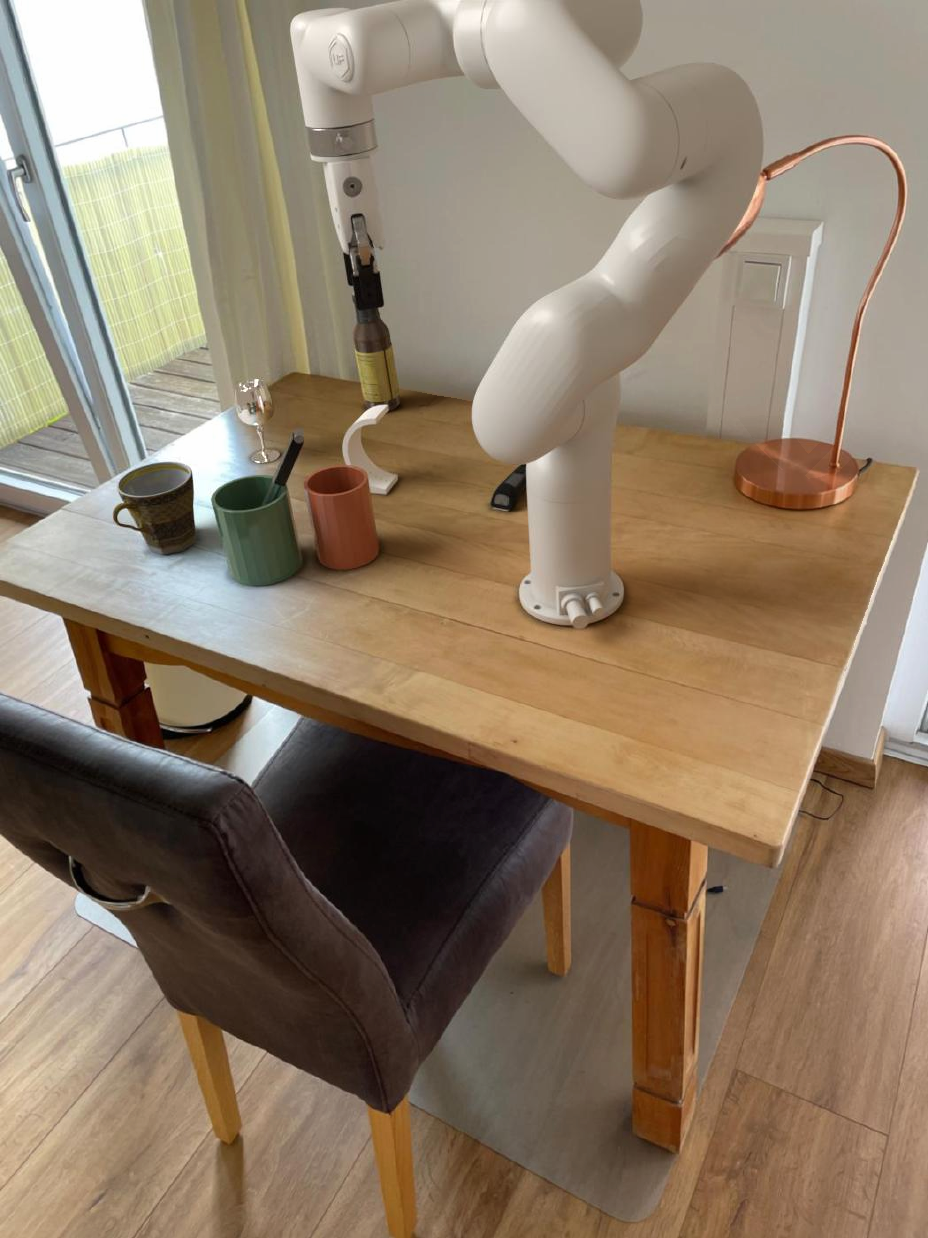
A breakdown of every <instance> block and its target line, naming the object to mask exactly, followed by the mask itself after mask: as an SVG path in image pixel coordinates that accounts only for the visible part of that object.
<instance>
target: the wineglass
mask: <svg viewBox="0 0 928 1238" xmlns="http://www.w3.org/2000/svg"><path fill="white" fill-rule="evenodd" d="M234 403H235V411H236V413H237V416H238V418H239V420H240V421H242V422H243V424H246V425H248V426H253V427H256V432H257V434H258V436H259V439H260V442H261V448H262V449H261V450H259V451H257V452H255V453H254V454H252V457H251V460H252V461H253V462H254V463H257V464H267V463H271V462H274V461H275V460H277V459H279V457H280V455H281V454H280V451H278V450H276V449H267V447H266V444H265V440H264V439H265V438H264V427H263V425H265V424H267V423H268V422H270V420H271V419H272V418H273V416H274V414H275V413H274V412H275V403H274V399H273V396H272V393H271V391H270V389H269V387H268V385H267V383H266V381H265V380H262V379H248V380H244V381H241V382H239V383H238V384H236V385H235V387H234Z"/></svg>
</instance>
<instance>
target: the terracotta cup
mask: <svg viewBox="0 0 928 1238" xmlns="http://www.w3.org/2000/svg"><path fill="white" fill-rule="evenodd" d="M303 490H304V495H305V500H306V505H307V509H308V510H307V511H308V515H309V520H310V526H311V530H312V535H313V540H314V546H315V550H316V555H317V558H318V561H319V563H320V564H321V565H322V566H323V567H326V568H328V569H331V570H337V571H339V570H341V571H344V570H346V571H347V570H352V569H353V570H354V569H358V568H361V567H363V566H365V565H367V564H370V563H371V562H372V561H374V560H375V559H376V557H377V556H378V555H379V552H380V546H379V540H378V539H379V538H378V532H377V526H376V519H375V513H374V507H373V500H372V493H370V487H369V480H368V474H367V473H366V472H365V471H364V470H363V469H361V468H359V467H357V466H351V465H346V464H338V465H331V466H326V467H323V468H320V469H317V470H316V471H314V472H312V473H310V474H309V475H308V476H307V477H305V479H304V481H303Z"/></svg>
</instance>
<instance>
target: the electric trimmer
mask: <svg viewBox="0 0 928 1238" xmlns="http://www.w3.org/2000/svg"><path fill="white" fill-rule="evenodd" d="M526 484H527V482H526V464H522V465H518V466H517V467H516V468H515V469H514V470H513V471H512V472H511V473H510V474H508V476H507V477H506V478H505V479H504V480H503V481H502V482H501V483H500V484H499V485H498V486H497V487H496V489H495V490H494V492H493V494H492V497H491V499H490V506H491V507H492V509H493V510H498V511H502V512H503V511H504V512H509V511H510V510H514V509H515V508H516V506H517V502H518V498H519V497H520V495H521V494H522V493H523V492H524V490H525V489H527V486H526Z"/></svg>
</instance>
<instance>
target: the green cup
mask: <svg viewBox="0 0 928 1238" xmlns="http://www.w3.org/2000/svg"><path fill="white" fill-rule="evenodd" d="M273 477H274V475H269V474H253V475H248V476H242V477H238V478H235V479H232V480H230V481H227V482H225V483H224V484H222V485H220V486H219V487H218V488H217V489H216V490H215V491H214V492H213V493H212V495H211V498H210V501H211V506H212V509H213V513H214V517H215V521H216V525H217V528H218V532H219V537H220V541H221V543H222V547H223V551H224V555H225V558H226V563H227V567H228V570H229V574H230V576H231V578H232V579H233V580H234V581H235V582H236V583H238V584H241V585H244V586H249V587H263V586H269V585H274V584H277V583H281V582H283V581H285V580H287V579H290V578H291V577H292V576H294V575H295V574H296V573H297V572H298V571H299V570H300V569H301V567H302V564H303V553H302V550H301V543H300V540H299V536H298V531H297V526H296V520H295V516H294V512H293V507H292V502H291V496H290V492H289V486H288V485H287V484H286V485H285V487H284V489H283V492H282V494H281V495H280V496H279V498H277V499H276V500H275V501H273V499H274V496H275V494H276V492H277V489H278V487H279V485H278V484H276V487H275V489H274V491H273V494H272V496H271V498H270V501H269V503H268V504H267V505H265V506H262V503H263V501H264V499H265V496H266V494H267V492H268V489H269V487H270V485H271V482H272V480H273ZM272 501H273V502H272ZM261 506H262V507H261Z"/></svg>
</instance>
